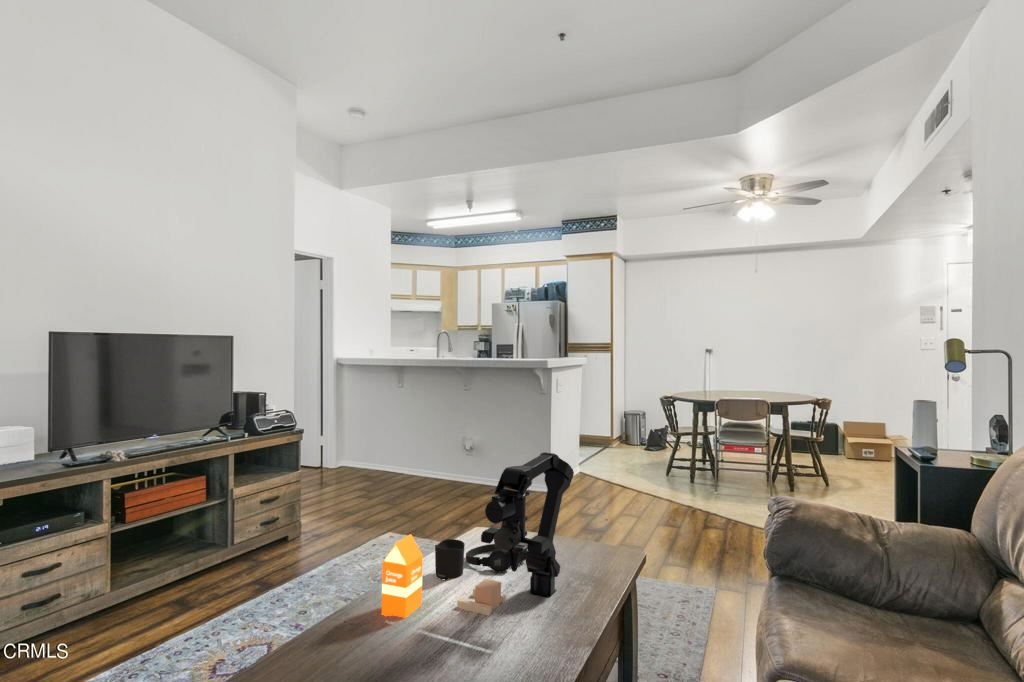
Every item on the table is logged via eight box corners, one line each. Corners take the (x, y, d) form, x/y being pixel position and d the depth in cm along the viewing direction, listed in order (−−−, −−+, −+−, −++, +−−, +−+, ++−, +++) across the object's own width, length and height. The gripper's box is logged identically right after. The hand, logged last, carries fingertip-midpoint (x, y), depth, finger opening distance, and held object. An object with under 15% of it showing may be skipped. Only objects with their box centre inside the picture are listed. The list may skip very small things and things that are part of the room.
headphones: (501, 552, 181) (455, 548, 193) (504, 576, 181) (457, 570, 192) (530, 538, 195) (485, 535, 207) (533, 560, 194) (488, 556, 206)
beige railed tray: (507, 601, 163) (507, 593, 163) (486, 619, 152) (487, 609, 152) (454, 588, 171) (454, 580, 171) (431, 604, 160) (431, 595, 160)
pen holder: (431, 572, 184) (431, 541, 184) (458, 568, 187) (459, 537, 188) (439, 583, 175) (439, 550, 175) (467, 578, 179) (468, 547, 179)
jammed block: (500, 603, 160) (501, 582, 161) (490, 611, 155) (491, 590, 155) (485, 599, 163) (485, 578, 163) (474, 607, 157) (475, 586, 157)
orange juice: (380, 615, 153) (382, 541, 154) (398, 601, 162) (399, 531, 162) (406, 620, 151) (407, 545, 151) (422, 606, 159) (423, 535, 159)
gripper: (470, 516, 153) (470, 574, 153) (532, 527, 144) (532, 589, 144) (491, 506, 163) (490, 560, 163) (550, 516, 154) (549, 573, 154)
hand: (514, 571), depth 156 cm, fingers closed
